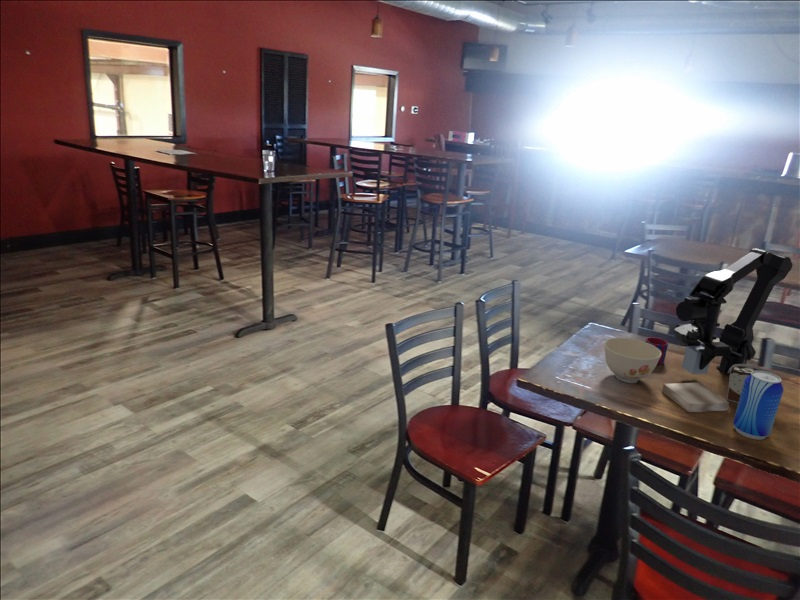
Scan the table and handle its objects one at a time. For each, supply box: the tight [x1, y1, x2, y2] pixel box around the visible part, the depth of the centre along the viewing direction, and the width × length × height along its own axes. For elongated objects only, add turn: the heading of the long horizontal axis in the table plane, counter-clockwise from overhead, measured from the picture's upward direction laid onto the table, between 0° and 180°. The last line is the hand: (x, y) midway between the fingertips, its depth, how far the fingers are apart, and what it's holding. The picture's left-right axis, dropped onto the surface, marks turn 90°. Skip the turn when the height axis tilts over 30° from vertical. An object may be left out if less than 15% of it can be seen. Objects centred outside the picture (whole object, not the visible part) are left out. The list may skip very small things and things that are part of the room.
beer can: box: [732, 371, 784, 441], centre depth 147 cm, size 8×8×16 cm
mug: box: [645, 336, 669, 366], centre depth 191 cm, size 7×10×7 cm
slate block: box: [681, 345, 710, 375], centre depth 176 cm, size 5×5×7 cm
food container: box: [726, 363, 775, 404], centre depth 165 cm, size 12×6×10 cm, turn 59°
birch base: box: [661, 382, 730, 413], centre depth 164 cm, size 12×12×2 cm
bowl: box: [603, 337, 661, 384], centre depth 175 cm, size 16×16×10 cm
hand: (695, 365), depth 177 cm, fingers closed on slate block, 5 cm apart
